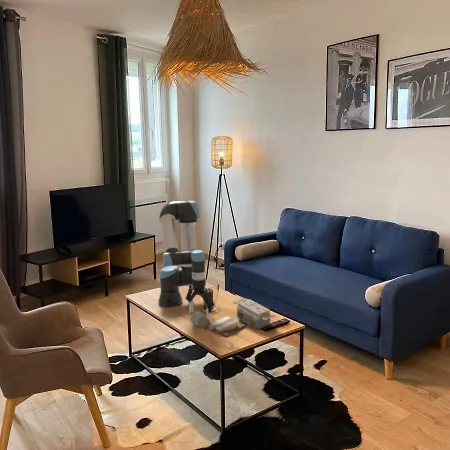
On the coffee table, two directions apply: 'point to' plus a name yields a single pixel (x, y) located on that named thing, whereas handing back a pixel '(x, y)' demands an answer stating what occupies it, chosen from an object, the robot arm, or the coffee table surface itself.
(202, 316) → the ceramic mug
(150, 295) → the coffee table surface
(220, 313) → the coffee table surface
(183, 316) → the coffee table surface
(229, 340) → the coffee table surface
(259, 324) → the electrical outlet
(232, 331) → the pedestal
